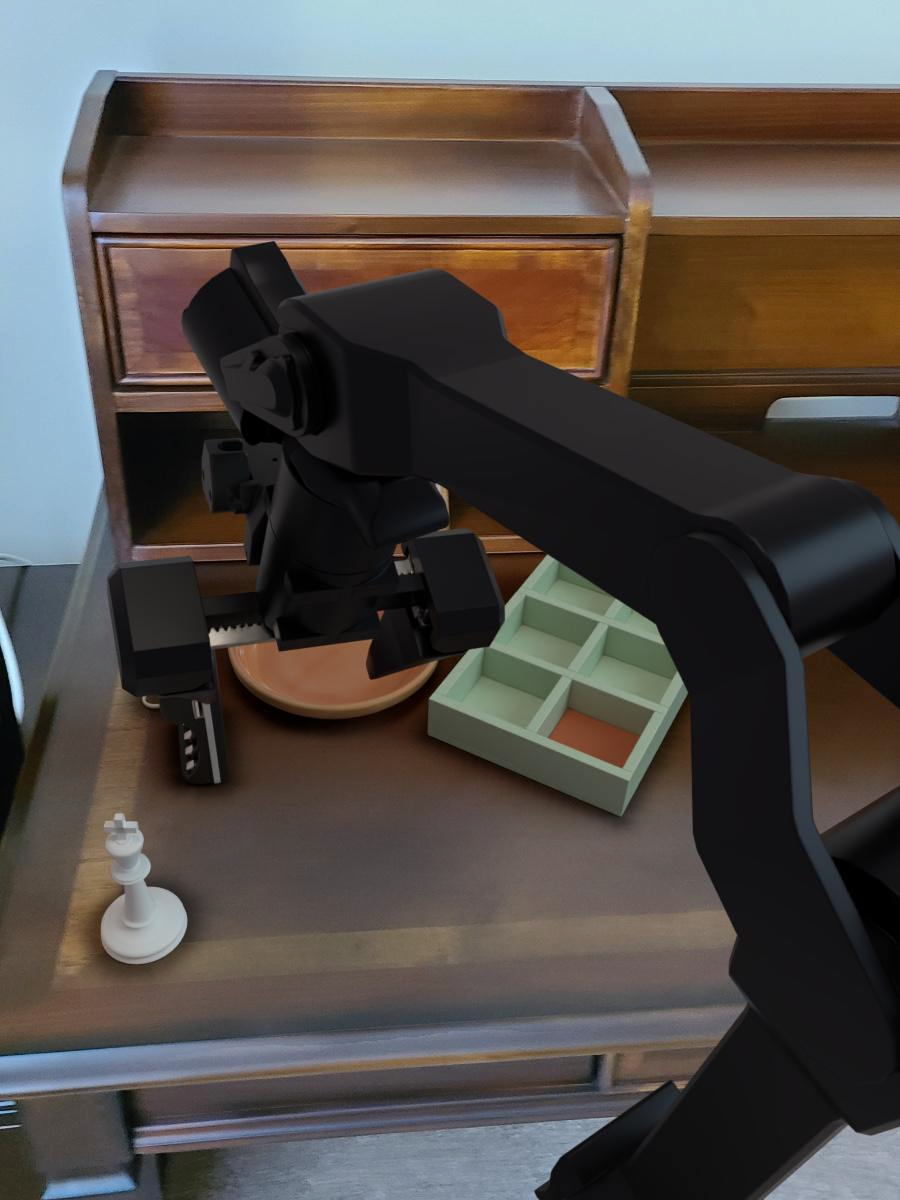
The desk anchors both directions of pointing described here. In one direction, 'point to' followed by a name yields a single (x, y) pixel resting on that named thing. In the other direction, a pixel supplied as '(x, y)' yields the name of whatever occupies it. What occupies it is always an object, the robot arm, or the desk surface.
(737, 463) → the robot arm
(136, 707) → the desk surface
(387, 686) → the saucer
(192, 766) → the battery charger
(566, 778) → the compartment tray
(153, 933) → the chess piece
